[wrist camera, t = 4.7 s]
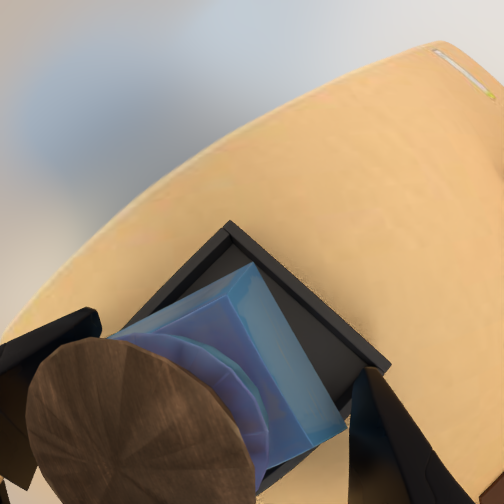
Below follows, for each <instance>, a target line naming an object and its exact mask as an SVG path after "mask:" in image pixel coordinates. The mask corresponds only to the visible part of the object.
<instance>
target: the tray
mask: <svg viewBox="0 0 504 504" xmlns="http://www.w3.org/2000/svg"><path fill="white" fill-rule="evenodd" d="M251 262H254V264H255V266H256V267H257V269H258V271H259V273H260V275H261V276H262V278H263V280H264V282H265V283H266V285H267V287H268V289H269V290H270V292H271V294H272V296H273V297H274V299H275V301H276V303H277V305H278V306H279V308H280V310H281V312H282V313H283V315H284V317H285V319H286V320H287V322H288V324H289V326H290V327H291V329H292V331H293V333H294V334H295V336H296V338H297V340H298V341H299V343H300V345H301V347H302V348H303V350H304V352H305V354H306V355H307V357H308V359H309V361H310V362H311V364H312V366H313V368H314V369H315V371H316V373H317V375H318V376H319V378H320V380H321V382H322V383H323V385H324V387H325V389H326V390H327V392H328V394H329V396H330V397H331V399H332V401H333V403H334V404H335V406H336V408H337V410H338V411H339V413H340V415H341V417H342V418H343V420H345V419H346V418H347V417H348V416H349V415H350V414H351V404H352V391H353V385H354V382H355V380H356V379H357V377H358V375H359V374H360V372H361V370H362V369H363V368H364V367H374V368H376V369H378V371H379V372H380V373H381V375H382V376H384V373H386V372H387V370H388V369H389V368H390V366H391V365H392V364H391V363H390V362H389V361H388V360H387V359H386V358H385V357H384V356H383V355H382V354H381V353H379V352H378V351H377V350H376V349H375V348H374V347H373V346H372V345H371V344H370V343H368V342H367V341H366V340H365V339H364V338H363V337H362V336H361V335H360V334H358V333H357V332H356V331H355V330H354V329H353V328H352V327H351V326H350V325H349V324H347V323H346V322H345V321H344V320H343V319H342V318H341V317H340V316H339V315H337V314H336V313H335V312H334V311H333V310H332V309H331V308H330V307H328V306H327V305H326V304H325V303H324V302H323V301H322V300H321V299H320V298H318V297H317V296H316V295H315V294H314V293H313V292H312V291H311V290H309V289H308V288H307V287H306V286H305V285H304V284H303V283H302V282H300V281H299V280H298V279H297V278H296V277H295V276H294V275H293V274H291V273H290V272H289V271H288V270H287V269H286V268H285V267H284V266H282V265H281V264H280V263H279V262H278V261H277V260H276V259H275V258H273V257H272V256H271V255H270V254H269V253H268V252H267V251H265V250H264V249H263V248H262V247H261V246H260V245H259V244H258V243H256V242H255V241H254V240H253V239H252V238H251V237H250V236H248V235H247V234H246V233H245V232H244V231H243V230H242V229H240V228H239V227H238V226H237V225H236V224H235V223H234V222H232V221H231V220H229V221H228V222H227V223H226V224H225V225H224V226H223V228H221V229H220V230H219V231H218V232H217V233H216V234H215V235H214V236H213V237H211V238H210V239H209V240H208V241H207V242H206V243H205V244H204V245H203V246H202V247H201V248H200V249H199V250H198V251H197V252H196V253H195V254H194V255H193V256H192V257H191V258H190V259H189V260H188V261H187V262H186V263H185V264H184V265H183V266H182V267H181V268H180V269H179V270H178V271H177V272H176V273H175V274H174V275H173V276H172V277H171V278H170V279H169V280H168V281H167V282H166V283H165V284H164V285H163V286H162V287H161V288H160V289H159V290H158V291H157V293H156V294H155V295H154V296H153V297H152V298H151V299H150V300H149V301H148V302H147V303H146V304H145V305H144V306H143V307H142V308H141V309H140V310H139V311H138V312H137V313H136V314H135V315H134V317H133V318H132V319H131V320H130V321H129V322H128V323H127V324H126V325H125V326H124V327H123V328H122V329H121V330H123V329H125V328H127V327H128V326H130V325H132V324H134V323H136V322H138V321H140V320H142V319H144V318H146V317H148V316H150V315H152V314H154V313H156V312H158V311H160V310H161V309H163V308H165V307H167V306H169V305H171V304H173V303H175V302H177V301H179V300H181V299H183V298H185V297H186V296H188V295H190V294H192V293H194V292H196V291H198V290H200V289H202V288H204V287H206V286H208V285H209V284H211V283H213V282H215V281H217V280H219V279H221V278H223V277H225V276H227V275H228V274H230V273H232V272H234V271H236V270H238V269H240V268H242V267H244V266H246V265H247V264H249V263H251ZM121 330H120V331H121ZM318 446H319V445H318ZM318 446H316V447H314V448H312V449H310V450H308V451H306V452H304V453H302V454H300V455H298V456H296V457H294V458H292V459H290V460H288V461H285V462H283V463H281V464H279V465H277V466H274V467H272V468H270V469H267V470H266V472H265V475H264V477H263V479H262V482H261V484H260V486H259V489H258V490H257V491H256V496H257V495H259V494H260V493H262V492H263V491H264V490H266V489H267V488H269V487H270V486H271V485H273V484H274V483H275V482H276V481H278V480H279V479H280V478H282V477H283V476H284V475H285V474H287V473H288V472H289V471H290V470H292V469H293V468H294V467H295V466H296V465H298V464H299V463H300V462H301V461H302V460H303V459H305V458H306V457H307V456H308V455H309V454H310V453H311V452H312V451H314V450H315V449H316V448H317V447H318Z"/></svg>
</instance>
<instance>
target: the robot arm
mask: <svg viewBox="0 0 504 504" xmlns="http://www.w3.org/2000/svg"><path fill="white" fill-rule="evenodd" d="M101 333H102V325H101V322H100V318H99V315H98V312H97V311H96V310H95V309H93V308H90V307H84V308H82V309H80V310H78V311H75V312H73V313H71V314H69V315H66V316H64V317H62V318H60V319H57V320H55V321H53V322H51V323H48V324H46V325H44V326H42V327H40V328H37V329H35V330H33V331H31V332H28V333H26V334H24V335H22V336H20V337H18V338H15V339H13V340H11V341H9V342H7V343H4V344H2V345H0V504H10V501H9V497H8V494H7V490H6V486H5V482H4V480H3V479H4V478H6V479H7V480H9V481H10V482H12V483H14V484H15V485H17V486H19V487H20V488H22V489H24V490H26V491H27V490H28V489H29V486H30V484H31V481H32V478H33V476H34V473H35V471H36V469H37V466H38V464H37V462H36V459H35V457H34V454H33V452H32V450H31V447H30V442H29V437H28V431H27V425H26V418H25V414H26V404H27V396H28V388H29V386H30V384H31V381H32V379H33V377H34V375H35V373H36V371H37V369H38V367H39V365H40V363H41V362H42V361H43V360H45V359H46V358H47V357H48V356H49V355H50V354H52V353H53V352H54V351H55V350H56V349H57V348H59V347H60V346H61V345H64V344H67V343H71V342H74V341H78V340H81V339H85V338H88V337H95V338H99V337H100V335H101ZM432 449H433V448H432V447H431V445H430V444H429V442H428V441H427V439H426V438H425V436H424V435H423V433H422V432H421V430H420V429H419V427H418V426H417V425H416V423H415V422H414V420H413V419H412V417H411V416H410V414H409V413H408V411H407V410H406V409H405V407H404V406H403V404H402V403H401V401H400V400H399V399H398V397H397V396H396V394H395V393H394V392H393V390H392V389H391V387H390V386H389V385H388V383H387V382H386V380H385V379H384V378H383V376H382V375H381V373H380V372H379V371H378V369H376V368H374V367H364V368H363V369H362V370H361V372H360V374H359V375H358V377H357V379H356V380H355V382H354V385H353V391H352V404H351V416H350V427H349V487H348V504H475V503H474V502H473V500H472V499H471V498H470V497H469V496H468V494H467V493H466V492H465V491H464V490H463V488H462V487H461V486H460V485H459V484H458V482H457V481H456V480H455V479H454V477H453V476H452V475H451V474H450V472H449V471H448V470H447V468H446V467H445V466H444V464H443V463H442V461H441V460H440V458H439V457H438V455H437V454H436V452H435V451H434V450H432Z"/></svg>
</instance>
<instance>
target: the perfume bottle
mask: <svg viewBox="0 0 504 504" xmlns="http://www.w3.org/2000/svg"><path fill="white" fill-rule="evenodd" d="M25 418H26V425H27V431H28V437H29V442H30V447H31V450H32V452H33V454H34V457H35V459H36V462H37V464H38V466H39V468H40V471H41V473H42V475H43V477H44V478H45V480H46V481H47V483H48V484H49V486H50V487H51V488H52V490H53V491H54V493H55V494H56V495H57V496H58V498H59V499H60V501H61V502H62V503H63V504H255V503H256V491H257V490H258V489H259V486H260V484H261V482H262V479H263V477H264V475H265V472H266V470H267V469H270V468H272V467H274V466H277V465H279V464H281V463H283V462H285V461H288V460H290V459H292V458H294V457H296V456H298V455H300V454H302V453H304V452H306V451H308V450H310V449H312V448H314V447H316V446H318V445H320V444H321V443H323V442H325V441H327V440H329V439H330V438H332V437H334V436H336V435H337V434H339V433H341V432H342V431H344V430H346V429H347V428H348V427H347V425H346V423H345V422H344V420H343V418H342V417H341V415H340V413H339V411H338V410H337V408H336V406H335V404H334V403H333V401H332V399H331V397H330V396H329V394H328V392H327V390H326V389H325V387H324V385H323V383H322V382H321V380H320V378H319V376H318V375H317V373H316V371H315V369H314V368H313V366H312V364H311V362H310V361H309V359H308V357H307V355H306V354H305V352H304V350H303V348H302V347H301V345H300V343H299V341H298V340H297V338H296V336H295V334H294V333H293V331H292V329H291V327H290V326H289V324H288V322H287V320H286V319H285V317H284V315H283V313H282V312H281V310H280V308H279V306H278V305H277V303H276V301H275V299H274V297H273V296H272V294H271V292H270V290H269V289H268V287H267V285H266V283H265V282H264V280H263V278H262V276H261V275H260V273H259V271H258V269H257V267H256V266H255V264H254V262H251V263H249V264H247V265H246V266H244V267H242V268H240V269H238V270H236V271H234V272H232V273H230V274H228V275H227V276H225V277H223V278H221V279H219V280H217V281H215V282H213V283H211V284H209V285H208V286H206V287H204V288H202V289H200V290H198V291H196V292H194V293H192V294H190V295H188V296H186V297H185V298H183V299H181V300H179V301H177V302H175V303H173V304H171V305H169V306H167V307H165V308H163V309H161V310H160V311H158V312H156V313H154V314H152V315H150V316H148V317H146V318H144V319H142V320H140V321H138V322H136V323H134V324H132V325H130V326H128V327H127V328H125V329H123V330H121V331H119V332H117V333H115V334H113V335H111V336H109V337H107V338H105V339H104V338H95V337H88V338H85V339H81V340H78V341H74V342H71V343H67V344H64V345H61V346H60V347H59V348H57V349H56V350H55V351H54V352H53V353H52V354H50V355H49V356H48V357H47V358H46V359H45V360H43V361H42V362H41V363H40V365H39V367H38V369H37V371H36V373H35V375H34V377H33V379H32V381H31V384H30V386H29V388H28V396H27V404H26V414H25Z"/></svg>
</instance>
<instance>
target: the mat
mask: <svg viewBox="0 0 504 504" xmlns="http://www.w3.org/2000/svg"><path fill="white" fill-rule="evenodd" d="M479 499H480V504H504V472H503V474H502V475H501V476H500V477H499V478H498V479H497V480H496V481H495V482H494V483H493V484H492V485H491V486H490V487H489V488H488V489H487V490H486V491H485V492H484V493H483V494H482V495H481V496H480V497H479Z"/></svg>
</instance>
